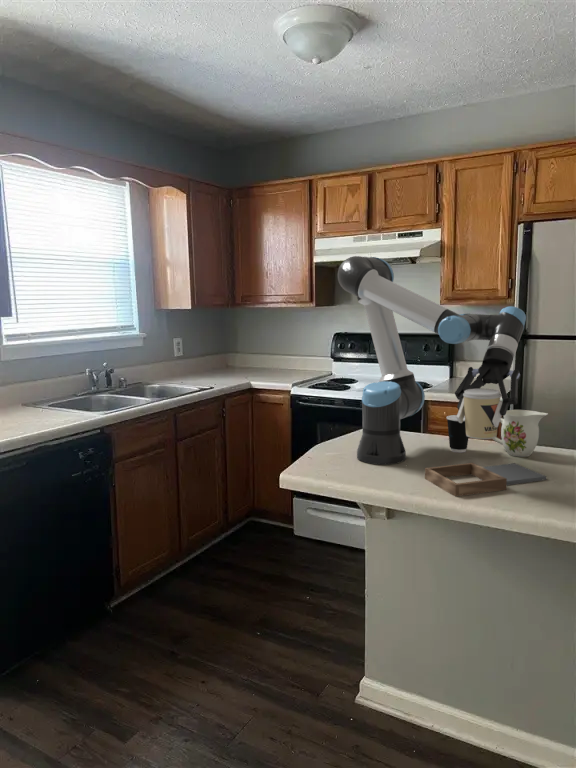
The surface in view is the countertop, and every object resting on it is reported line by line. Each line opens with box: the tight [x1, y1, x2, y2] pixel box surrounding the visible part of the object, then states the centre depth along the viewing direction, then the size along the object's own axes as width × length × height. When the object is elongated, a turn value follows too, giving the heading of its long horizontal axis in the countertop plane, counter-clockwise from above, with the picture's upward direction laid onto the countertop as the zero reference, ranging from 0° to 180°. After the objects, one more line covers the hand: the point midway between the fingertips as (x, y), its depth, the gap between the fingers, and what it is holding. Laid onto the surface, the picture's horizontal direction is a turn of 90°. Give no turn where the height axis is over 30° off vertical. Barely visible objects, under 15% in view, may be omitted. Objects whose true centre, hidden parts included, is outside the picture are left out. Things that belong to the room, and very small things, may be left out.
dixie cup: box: [445, 414, 470, 454], centre depth 180 cm, size 8×8×11 cm
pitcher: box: [492, 409, 549, 457], centre depth 176 cm, size 11×18×14 cm, turn 50°
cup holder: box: [424, 462, 507, 498], centre depth 149 cm, size 15×15×3 cm
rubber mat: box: [482, 462, 547, 486], centre depth 155 cm, size 13×13×1 cm
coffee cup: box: [463, 388, 502, 440], centre depth 147 cm, size 9×9×12 cm
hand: (476, 422), depth 145 cm, fingers closed on coffee cup, 9 cm apart
